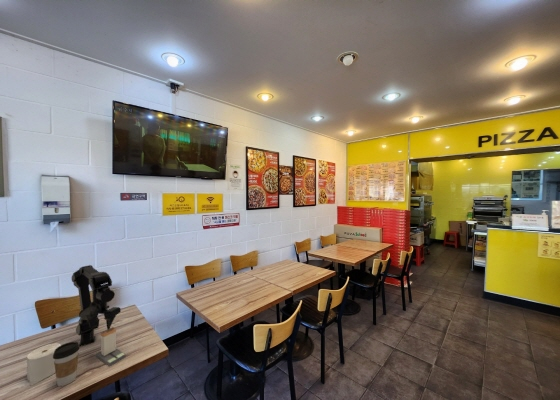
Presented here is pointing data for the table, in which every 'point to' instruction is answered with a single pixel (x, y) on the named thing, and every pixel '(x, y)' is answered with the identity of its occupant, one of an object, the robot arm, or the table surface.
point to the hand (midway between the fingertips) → (100, 328)
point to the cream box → (108, 341)
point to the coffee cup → (66, 362)
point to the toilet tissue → (41, 363)
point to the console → (111, 357)
